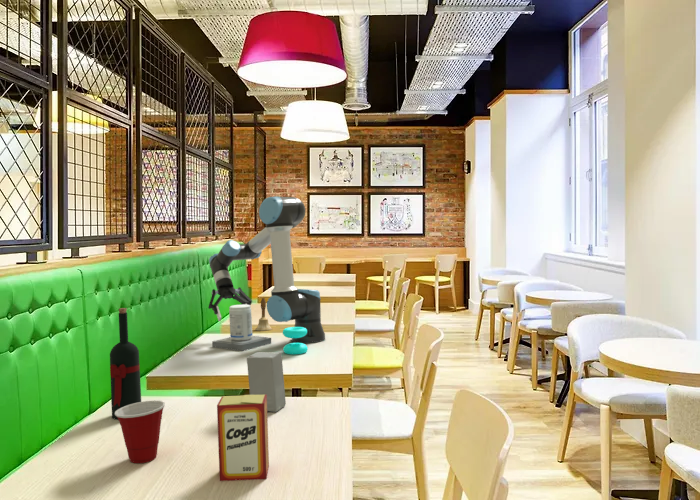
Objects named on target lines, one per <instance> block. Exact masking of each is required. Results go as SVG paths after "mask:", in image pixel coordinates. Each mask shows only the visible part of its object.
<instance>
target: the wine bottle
mask: <svg viewBox="0 0 700 500" xmlns="http://www.w3.org/2000/svg"><path fill="white" fill-rule="evenodd" d="M127 311H128V307H120V308H118V331H119V342H117V344H115V345H114V346H113V347H112V348H111V350H110V353H109V373H110V375H109V377H110V395H111V396H110V399H111V403H110V405H111V419H114V420H117V421H119V420H118V418H117V416H115V411H117V410H118V409H120V408H122V407H124V406H127V405H130V404H134V403H138V402H142V390H141V387H142V386H141V385H142V384H141V370H140V369H141V368H140V367H141V366H140V351H139V348H138V347H137V346H136V344H134V343H133V342H131V341H129V326H128V312H127Z"/></svg>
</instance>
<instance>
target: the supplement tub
mask: <svg viewBox="0 0 700 500" xmlns="http://www.w3.org/2000/svg"><path fill="white" fill-rule="evenodd" d="M251 305H252V304H251ZM251 305H245V304H232V305H230V306H229V307H228V308H229V311H228V313H229V333H230V334H229V335H230V336H229V337H231V339H232V340H235V341H244V340H248V339H251V338H252V336H253V322H252V321H253V317H252V308H251V307H252V306H251Z"/></svg>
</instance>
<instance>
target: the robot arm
mask: <svg viewBox="0 0 700 500" xmlns="http://www.w3.org/2000/svg"><path fill="white" fill-rule="evenodd" d="M258 215H259V216H258V217H259V219H260V220H261V221H262V223H263V224H265V227H264V228H263V229H262V230H260V232H258V233H257V234H255V236H253V238H251V239H249V241H248V242H246V243H244V244H243V243H242V244H241V243H238V241H236V240H233V239H230V240H227V241H226V242H225V243H224V244H223V245H222V247H221V249H220V250H219V252H218V253H213V254H212V255H211V256H210V257H209V259H208V263H209V267H210V270H211V274H212V276H213V280H214V282H215V286H216V289H217V290H216V289H215V288H213V289H212V290H211V297H210V301H209V304H208V307H207V308H208V309H209V310H212V311H213V313H214V315H216V317H217V321H218V322H221V320H222V314H221V311H220V307H219V306H218V305H219V304H220V303H221V301H222V300H223V299H224V300H227V299H229V300H230V299H233V300H236V301H237V302H238V303H240V305H242V304H245V305H252V303H253V300H252V299H251V298H250V297H249V296H248V295H247V294H246V293H245V292H244V291H243V289H242V287H239V286H238V288H235V287H234V283H233V280H232V277H231V274H230V271H229V267H230V265H231V264H232V262H234V261H243V260H255V259H258V258H260V257H261V254H262V251H263V250H265V248H267V247H268V246H270V249H271V250H270V251H271V252H270V253H271V260H272V261H271V262H272V272H273V273H272V274H273V286H274V287H273V288H272V289H271V292H270V293H271V296H270V297H268V299H267V302H266V310H267V313H268V315H269V317H271V319H272V320H273V321H275V322H278V323H287V322H289V321H294V325H293V327H304V328H306V329H307V334H306V335H305V336H304V337H301V338H291V341H292V342H293V343H303V344H305V343H306V344H308V343H309V344H310V343H317V342H322V341H325V340H326V333H325V331H324V328H323V325H322V322H321V321H322V318H321V317H322V316H321V315H322V314H321V312H322V311H321V310H322V309H321V294H320V293H321V292H320V291H319V290H318V289H308V288H307V289H304V288H303V289H302V288H298V287H296V285H295V280H294V279H295V278H294V268H293V255H292V245H291V230H292V229H293V228H295V227H297V226H298V225H299V224H300V223H302V222H303V220H304V218H305V216H306V206H305V204H304V202H303V201H302V200H300V199H299V198H297V197H294V196H277V195H275V196H269V197H266V198H265V199H263V201H262V203H261V204H260V206H259V209H258ZM216 295H218V297H217V299H216V300H215V296H216ZM214 300H215V302H214ZM213 303H214V304H213Z"/></svg>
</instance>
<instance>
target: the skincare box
mask: <svg viewBox="0 0 700 500" xmlns="http://www.w3.org/2000/svg"><path fill="white" fill-rule="evenodd" d="M246 364H247V365H246V367H247V375H248V387H249V395H266V394H267V412H274V413H275V412H276V413H277V412H278V411H280V410H281V409H283V408H284V407H286V405H287V401H286V392H285V391H286V390H285V378H284V365H283V357H282V351H281V352H278V351H277V352H272V351H271V352H269V351H268V352H267V351H265V352H264V351H256V352H254V353H253V354H251V355H249V356H247V357H246Z"/></svg>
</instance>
